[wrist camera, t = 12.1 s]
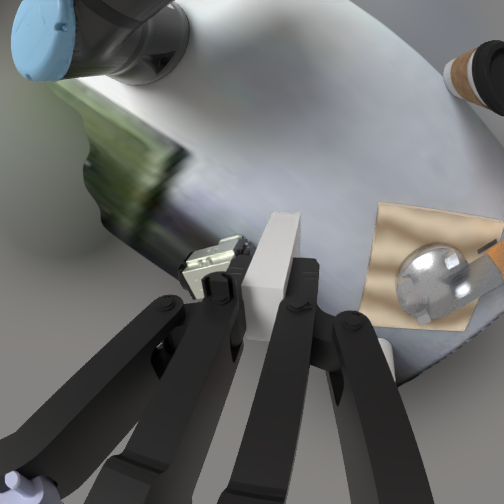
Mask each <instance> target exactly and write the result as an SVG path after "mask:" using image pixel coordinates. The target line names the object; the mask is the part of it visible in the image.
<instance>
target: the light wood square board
mask: <svg viewBox="0 0 504 504" xmlns="http://www.w3.org/2000/svg"><path fill="white" fill-rule="evenodd" d="M503 228H504V223H503V222H502V221H501V220H498V219H492V218H487V217H481V216H476V215H470V214H464V213H458V212H451V211H445V210H438V209H431V208H424V207H417V206H410V205H402V204H394V203H386V202H379V204H378V211H377V218H376V224H375V230H374V237H373V242H372V248H371V254H370V259H369V264H368V270H367V275H366V280H365V284H364V289H363V294H362V298H361V303H360V307H359V311H358V312H360V313H363V314H364V315H366V316H367V317H368V318H369V320H370V321H371V324H372V326H381V327H395V328H409V329H426V330H447V331H464V330H465V328H466V326H467V324H468V322H469V320H470V318H471V315H472V313H473V311H474V309H475V306H476V304H477V302H478V299H479V298H477V299H475V300H473V301H472V302H470V303H468V304H466V305H464V306H463V307H461V308H459V309H458V308H457V309H456V310H455V311H453V312H452V313H450V314H448V315H446V316H444V317H442V318H439V319H434V320H431V322H429V323H427V324H424V325H422V326H420V324H419V322H418V320H417V319H416V318H414V317H411V316H410V315H408V314H407V313H406V312H405V311H404V310H403V309H402V308H401V306H400V304H399V301H398V298H397V293H396V289H395V278H396V274H397V271H398V269H399V267H400V265H401V263H402V262H403V261H404V259H405V258H406V257H407V256H408V255H409V254H410V253H412V252H413V251H414V250H416V249H417V248H419V247H421V246H424V245H426V244H430V243H447V244H450V245H452V246H454V247H456V248H457V249H458V250H459V251H460V252H461V253H462V254H463V256H464V257H465V259H466V260H467V262H468V264H469V263H471V262H473V261H474V260H476V259H478V258H479V257H481V256H483V255H484V254H486V251H487V250H489V249H490V248H492V247H494V246H495V245H497V244H498V243H499V242H500V238H501V235H502V232H503Z"/></svg>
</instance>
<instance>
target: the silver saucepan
mask: <svg viewBox="0 0 504 504" xmlns="http://www.w3.org/2000/svg"><path fill="white" fill-rule="evenodd" d="M502 283H504V240H503V241H502V242H500V243H498V244H497V245H495V246H494V247H492V248H490V249H489V250H487V251H486V254H484V255H483V256H481V257H479V258H478V259H476V260H474V261H473V262H471V263H469V264H468V262H467V260H466V259H465V257H464V256H463V254H462V253H461V252H460V251H459V250H458V249H457V248H456V247H454V246H452V245H450V244H447V243H430V244H426V245H424V246H421V247H419V248H417V249H416V250H414V251H413V252H412V253H410V254H409V255H408V256H407V257H406V258H405V259H404V261H403V262H402V263H401V265H400V267H399V269H398V271H397V274H396V278H395V289H396V293H397V298H398V301H399V304H400V306H401V308H402V309H403V310H404V311H405V312H406V313H407V314H408V315H410V316H411V317H414V318H416V319H417V320H418V322H419V324H420V326H422V325H424V324H427V323H429V322H431V320H434V319H439V318H442V317H444V316H446V315H448V314H450V313H452V312H453V311H455V310H456V309H457V308H458V309H459V308H461V307H463V306H464V305H466V304H468V303H470V302H472V301H473V300H475V299H477V298H479V297H480V296H482V295H484V294H486V293H487V292H489V291H491V290H492V289H494V288H496V287H497V286H499V285H501V284H502Z"/></svg>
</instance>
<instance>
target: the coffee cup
mask: <svg viewBox="0 0 504 504" xmlns="http://www.w3.org/2000/svg"><path fill="white" fill-rule="evenodd" d="M443 77H444V82H445V84H446V86H447V88H448V90H449V91H450V92H451V93H452V94H453V95H454V96H456V97H458V98H461V99H464V100H467V101H470V102H472V103H475V104H477V105H480V106H482V107H485V108H487V109H490V110H492V111H493V112H495V113H497V114H499V115H501V116H504V42H503V41H499V40H493V41H488V42H485V43H483V44H482V45H480V46H479V47H477V48H475V49H473V50H471V51H469V52H467V53H465V54H463V55H461V56H459V57H457V58H455V59H453V60H451V61H449V62H448V63H447V64H446V66H445V68H444V73H443Z"/></svg>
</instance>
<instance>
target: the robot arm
mask: <svg viewBox="0 0 504 504" xmlns="http://www.w3.org/2000/svg"><path fill="white" fill-rule="evenodd" d="M173 1H174V0H23V2H22V3H21V5H20V7H19V9H18V11H17V14H16V17H15V20H14V24H13V28H12V37H11V50H12V56H13V60H14V63H15V66H16V68H17V70H18V71H19V73H20V74H21V75H22V76H23V77H24V78H26V79H28V80H30V81H51V82H56V81H59V80H63V79H71V78H79V77H88V76H99V75H106V76H108V77H110V78H112V79H115V80H117V81H119V82H121V83H124V84H130V85H139V84H148V83H152V82H155V81H157V80H159V79H161V78H163V77H164V76H166V75H167V74H168V73H170V72H171V71H172V70H173V69H174V68H175V67H176V65H177V64H178V63H179V61H180V60H181V58H182V56H183V55H184V52H185V50H186V47H187V44H188V39H189V24H188V20H187V17H186V15H185V13H184V11H183V10H182V9H181V7H180V6H179V5H177V4H176V3H175V2H173ZM318 280H319V264H318V262H317V260H316V259H313V258H300V213H286V212H272V214H271V216H270V218H269V221H268V223H267V225H266V228H265V230H264V233H263V235H262V237H261V240H260V242H259V244H258V247H257V249H256V251H255V254H254V256H253V255H238V256H237V257H235V258H234V259H233V260H232V261H231V262H230V264H229V266H228V268H227V270H226V272H225V271H216V272H212V273H209V274H207V275H205V276H204V277H203V278H202V279H201V282H202V287H203V293H204V299H203V301H202V302H197V303H190V304H184V303H183V300H182V299H181V298H180V297H178V296H176V295H164V296H162V297H159V298H157V299H156V300H154V301H153V302H152V303H151V304H150V305H149V306H148V307H146V308H145V309H144V310H143V311H142V312H141V313H140V314H139V315H138V316H136V317H135V318H134V319H133V320H132V321H131V322H130V323H129V324H128V325H127V326H126V327H124V328H123V330H121V331H120V332H119V333H118V334H117V335H116V336H115V337H114V338H113V339H112V340H110V341H109V342H108V343H107V344H106V345H105V346H104V347H103V348H102V349H101V350H100V351H99V352H98V353H97V354H95V355H94V356H93V357H92V358H91V359H90V360H89V361H88V362H87V363H86V364H85V365H84V366H83V367H82V368H81V369H80V370H79V371H77V372H76V373H75V374H74V375H73V376H72V377H71V378H70V379H69V380H68V381H67V382H66V383H65V384H64V385H63V386H62V387H61V388H60V389H59V390H58V391H57V392H56V393H55V394H54V395H53V396H52V397H51V398H50V399H48V401H46V402H45V403H44V404H43V405H42V406H41V407H40V408H39V409H38V410H37V411H36V412H35V413H34V414H33V415H32V416H31V417H30V418H29V419H28V420H27V421H26V422H25V423H24V424H23V425H22V426H21V427H20V428H19V429H18V430H17V431H16V432H15V433H13V434H11V435H9V436H7V437H5V438H3V439H1V440H0V504H64V503H63V502H62V501H61V499H63V498H65V497H66V496H68V495H70V494H71V493H72V492H74V491H75V490H76V489H78V488H79V487H80V486H81V485H82V484H83V483H84V482H85V481H86V480H87V479H88V478H89V477H90V476H91V475H92V473H93V472H94V471H95V470H96V469H97V468H98V467H99V466H100V464H101V463H102V462H103V461H104V460H105V459H106V458H107V456H108V455H109V454H110V453H111V452H112V451H113V450H114V448H115V447H116V446H117V445H118V444H119V443H120V442H121V440H122V439H123V438H124V437H125V436H126V435H127V434H128V432H129V431H130V430H131V429H132V428H133V427H134V425H135V424H136V423H137V422H138V421H139V422H138V424H137V426H136V428H135V430H134V432H133V434H132V436H131V438H130V439H129V441H128V443H127V445H126V447H125V449H124V451H123V452H122V453H121V454H119V455H114V456H111V457H110V458H109V459H107V461H106V462H105V464H104V465H103V467H102V469H101V471H100V473H99V474H98V476H97V478H96V480H95V482H94V484H93V486H92V488H91V490H90V492H89V494H88V496H87V498H86V500H85V502H84V504H192V495H193V492H194V489H195V486H196V483H197V480H198V478H199V475H200V472H201V469H202V467H203V464H204V461H205V458H206V456H207V453H208V450H209V447H210V444H211V442H212V439H213V436H214V433H215V430H216V427H217V424H218V421H219V419H220V416H221V413H222V410H223V407H224V404H225V401H226V398H227V396H228V393H229V390H230V387H231V384H232V381H233V378H234V375H235V372H236V369H237V366H238V363H239V360H240V357H241V354H242V351H243V346H244V345H243V336H244V334H245V331H246V338H247V339H251V340H260V341H269V346H268V349H267V353H266V357H265V361H264V365H263V368H262V372H261V376H260V379H259V383H258V387H257V390H256V394H255V397H254V401H253V404H252V408H251V412H250V415H249V418H248V422H247V425H246V429H245V432H244V435H243V439H242V442H241V445H240V449H239V452H238V456H237V459H236V462H235V465H234V469H233V472H232V475H231V478H230V481H229V484H228V486H227V488H226V489H225V490H224V491H223V492H222V493H221V495H220V497H219V499H218V502H217V504H286V499H287V495H288V490H289V485H290V480H291V476H292V471H293V465H294V460H295V455H296V450H297V444H298V439H299V433H300V427H301V421H302V415H303V409H304V402H305V396H306V388H307V382H308V375H309V368H310V365H313V366H315V367H318V368H321V369H323V370H326V376H327V381H328V385H329V390H330V394H331V399H332V404H333V409H334V413H335V418H336V423H337V428H338V433H339V438H340V444H341V449H342V454H343V459H344V465H345V470H346V476H347V482H348V487H349V492H350V499H351V504H434V501H433V497H432V493H431V490H430V486H429V482H428V479H427V475H426V472H425V468H424V465H423V462H422V458H421V455H420V452H419V449H418V446H417V443H416V440H415V437H414V433H413V431H412V428H411V425H410V422H409V419H408V416H407V413H406V410H405V408H404V405H403V402H402V399H401V396H400V394H399V391H398V388H397V386H396V383H395V380H394V378H393V375H392V373H391V370H390V367H389V365H388V362H387V360H386V357H385V355H384V352H383V350H382V348H381V345H380V343H379V340H378V338H377V335H376V333H375V331H374V328H373V326H372V324H371V321H370V320H369V318H368V317H367V316H366V315H364V314H363V313H360V312H357V311H344V312H341V313H339V314H338V315H336V317H335V316H332V315H329V314H327V313H325V312H323V311H322V310H321V309H320V308H319V307H318V305H317V294H318ZM160 343H162V344H161V345H160V346H159V347H157V346H158V345H159V344H160Z"/></svg>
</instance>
